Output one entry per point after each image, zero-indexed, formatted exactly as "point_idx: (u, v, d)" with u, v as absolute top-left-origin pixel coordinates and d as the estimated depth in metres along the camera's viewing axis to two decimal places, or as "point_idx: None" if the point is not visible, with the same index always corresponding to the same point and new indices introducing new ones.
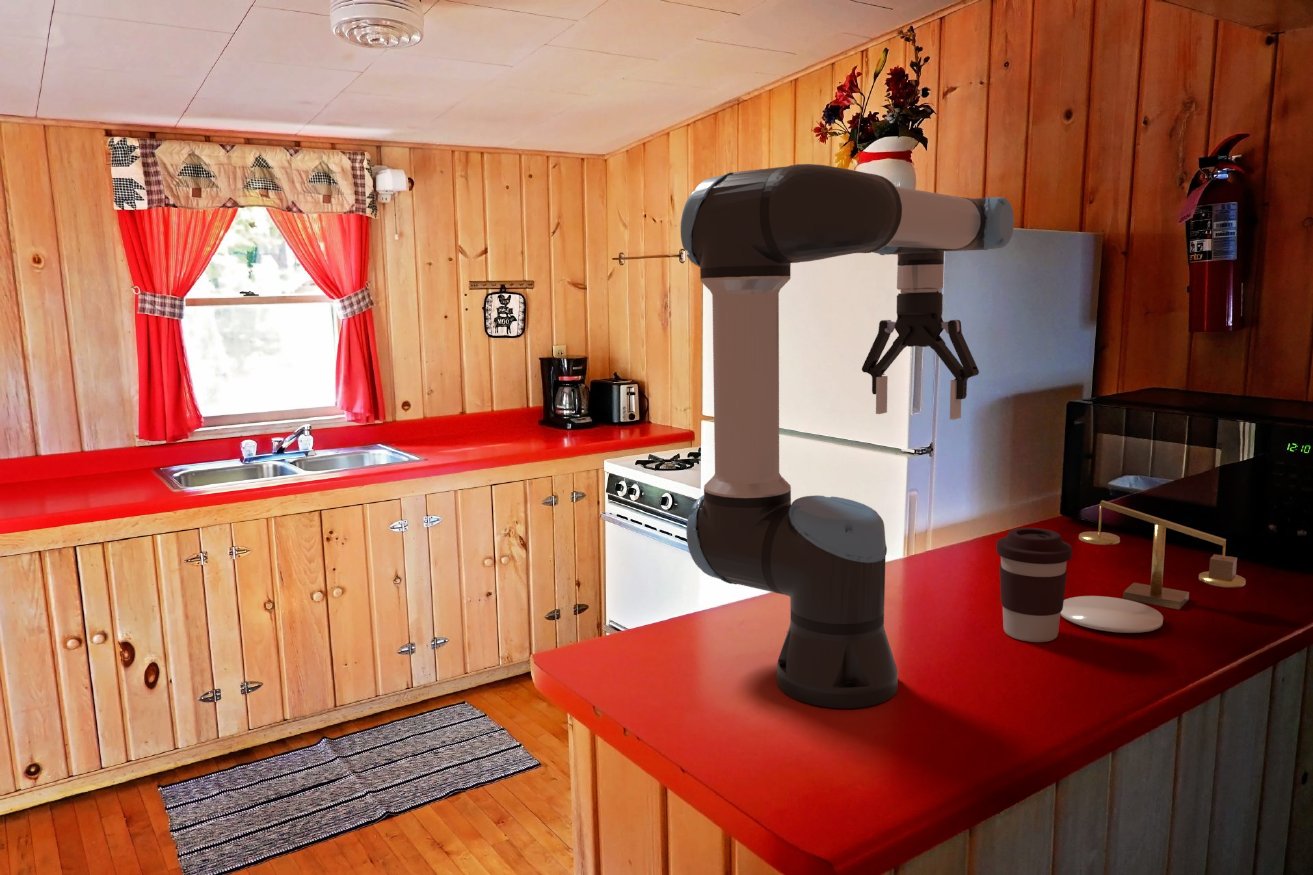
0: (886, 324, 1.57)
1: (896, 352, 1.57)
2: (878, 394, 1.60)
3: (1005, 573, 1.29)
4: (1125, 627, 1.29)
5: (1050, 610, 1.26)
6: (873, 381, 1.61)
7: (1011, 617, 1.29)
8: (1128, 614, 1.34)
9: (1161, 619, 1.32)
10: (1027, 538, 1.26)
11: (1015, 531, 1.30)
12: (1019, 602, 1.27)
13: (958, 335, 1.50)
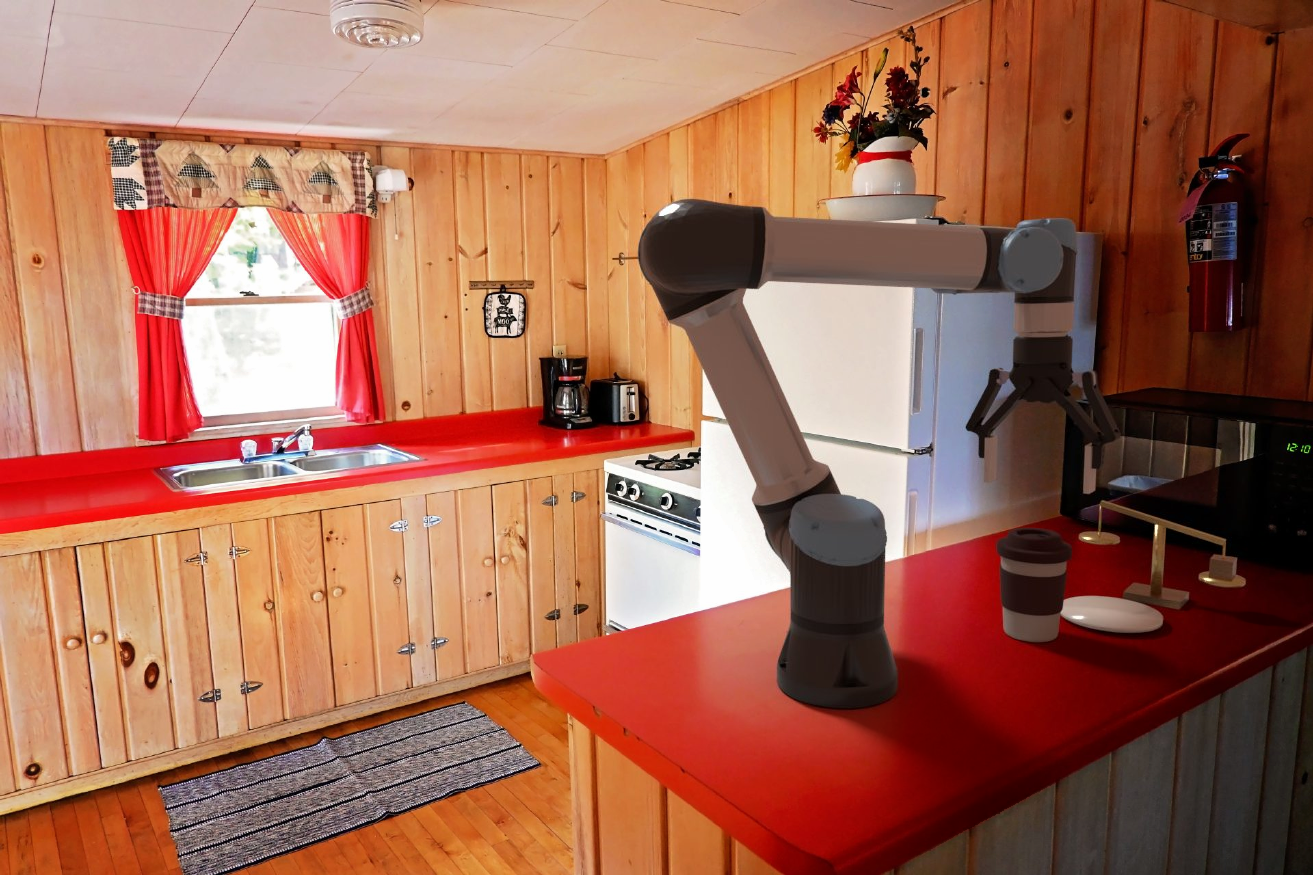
0: (998, 374, 1.28)
1: (1011, 408, 1.28)
2: (987, 458, 1.31)
3: (1005, 573, 1.29)
4: (1125, 627, 1.29)
5: (1050, 610, 1.26)
6: (980, 442, 1.32)
7: (1011, 617, 1.29)
8: (1128, 614, 1.34)
9: (1161, 619, 1.32)
10: (1027, 538, 1.26)
11: (1015, 531, 1.30)
12: (1019, 602, 1.27)
13: (1095, 390, 1.21)
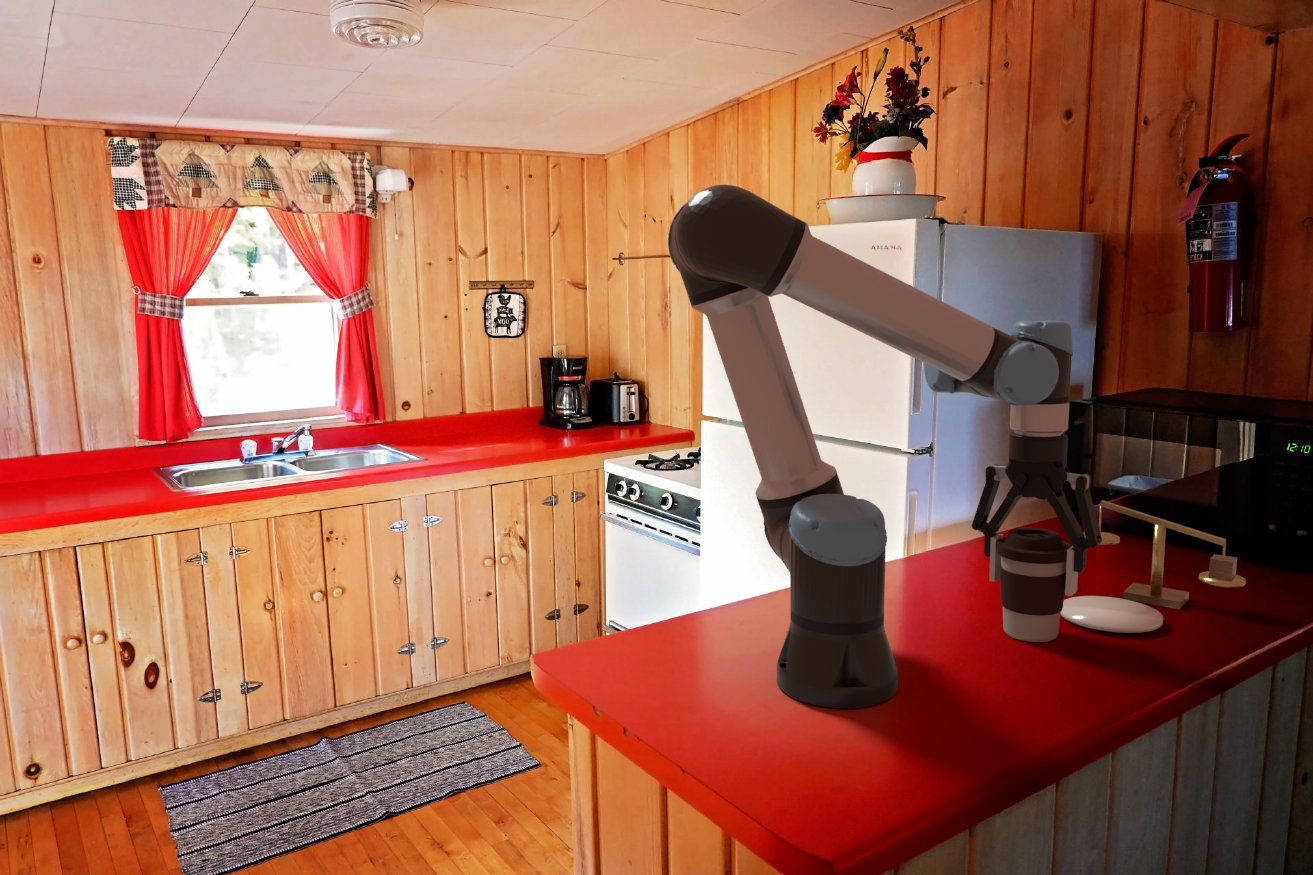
0: (994, 470, 1.31)
1: (1012, 505, 1.30)
2: (993, 558, 1.32)
3: (1005, 573, 1.29)
4: (1125, 627, 1.29)
5: (1050, 610, 1.26)
6: (986, 541, 1.33)
7: (1011, 617, 1.29)
8: (1128, 614, 1.34)
9: (1161, 619, 1.32)
10: (1027, 538, 1.26)
11: (1015, 531, 1.30)
12: (1019, 602, 1.27)
13: (1086, 495, 1.23)
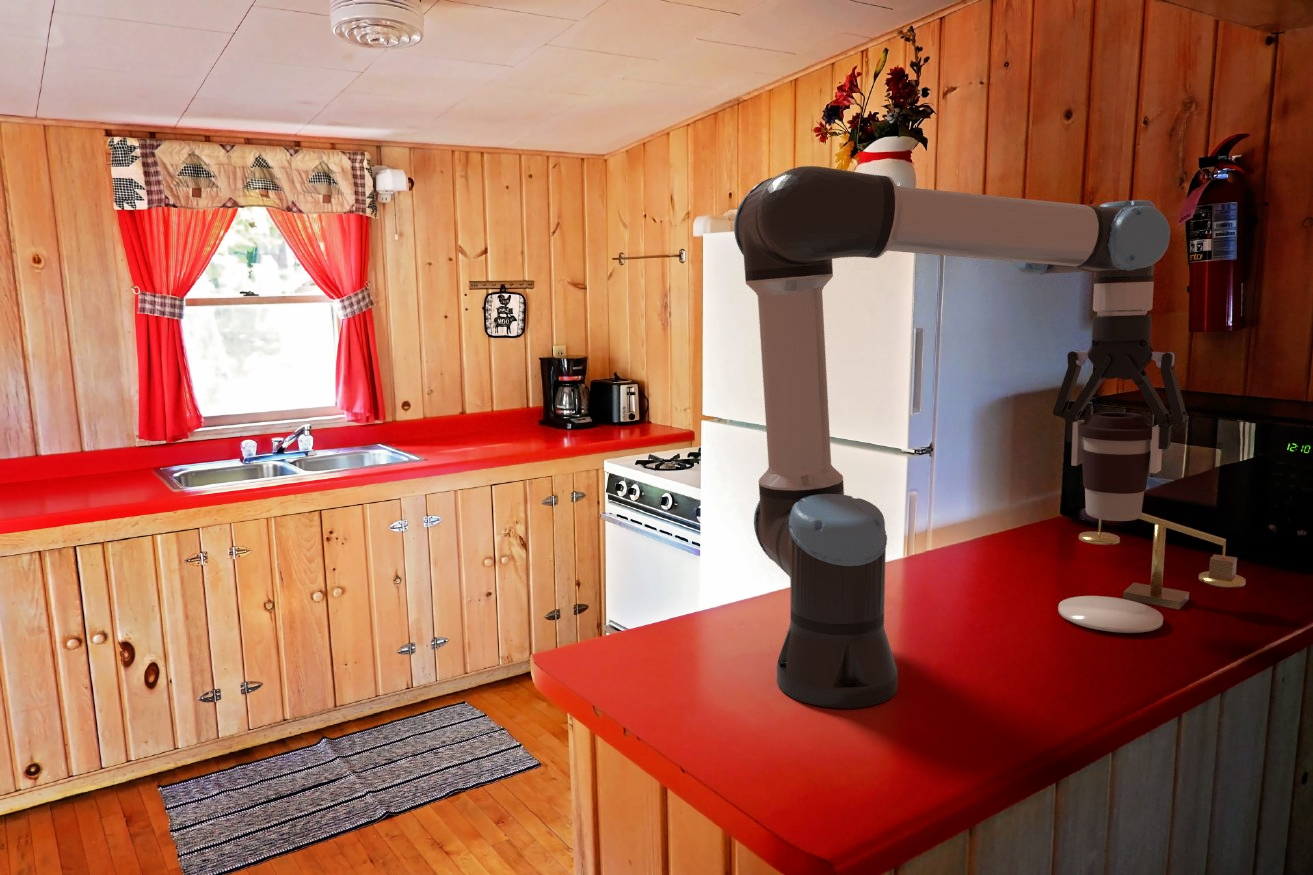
0: (1076, 355, 1.33)
1: (1094, 388, 1.32)
2: (1075, 442, 1.34)
3: (1089, 454, 1.31)
4: (1125, 627, 1.29)
5: (1135, 488, 1.29)
6: (1067, 426, 1.35)
7: (1095, 498, 1.31)
8: (1128, 614, 1.34)
9: (1161, 619, 1.32)
10: (1112, 417, 1.29)
11: (1098, 414, 1.32)
12: (1104, 481, 1.29)
13: (1172, 371, 1.25)
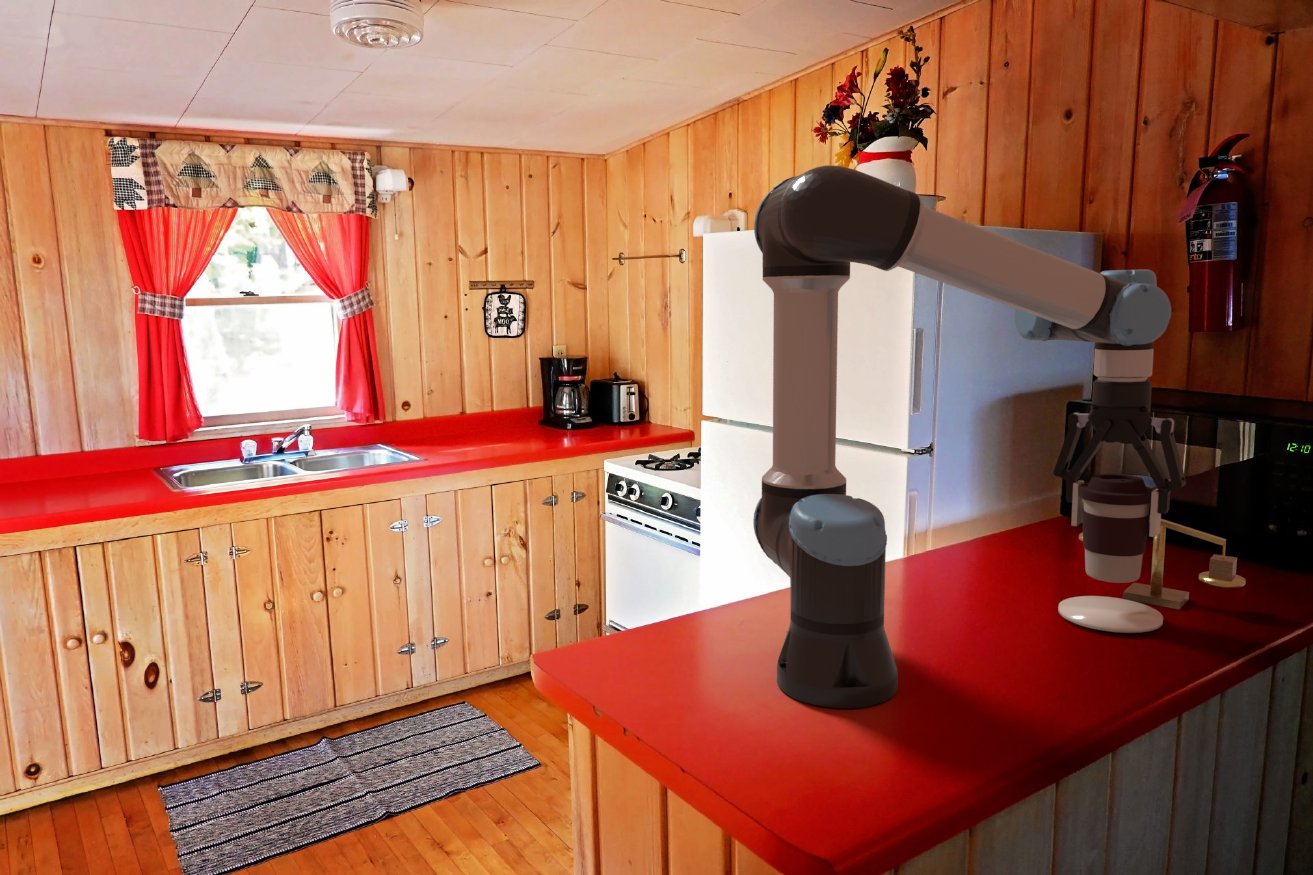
0: (1077, 418, 1.34)
1: (1095, 451, 1.34)
2: (1075, 503, 1.36)
3: (1089, 516, 1.33)
4: (1125, 627, 1.29)
5: (1135, 551, 1.30)
6: (1068, 487, 1.37)
7: (1095, 559, 1.33)
8: (1128, 614, 1.34)
9: (1161, 619, 1.32)
10: (1112, 481, 1.30)
11: (1098, 476, 1.34)
12: (1104, 543, 1.31)
13: (1171, 438, 1.27)
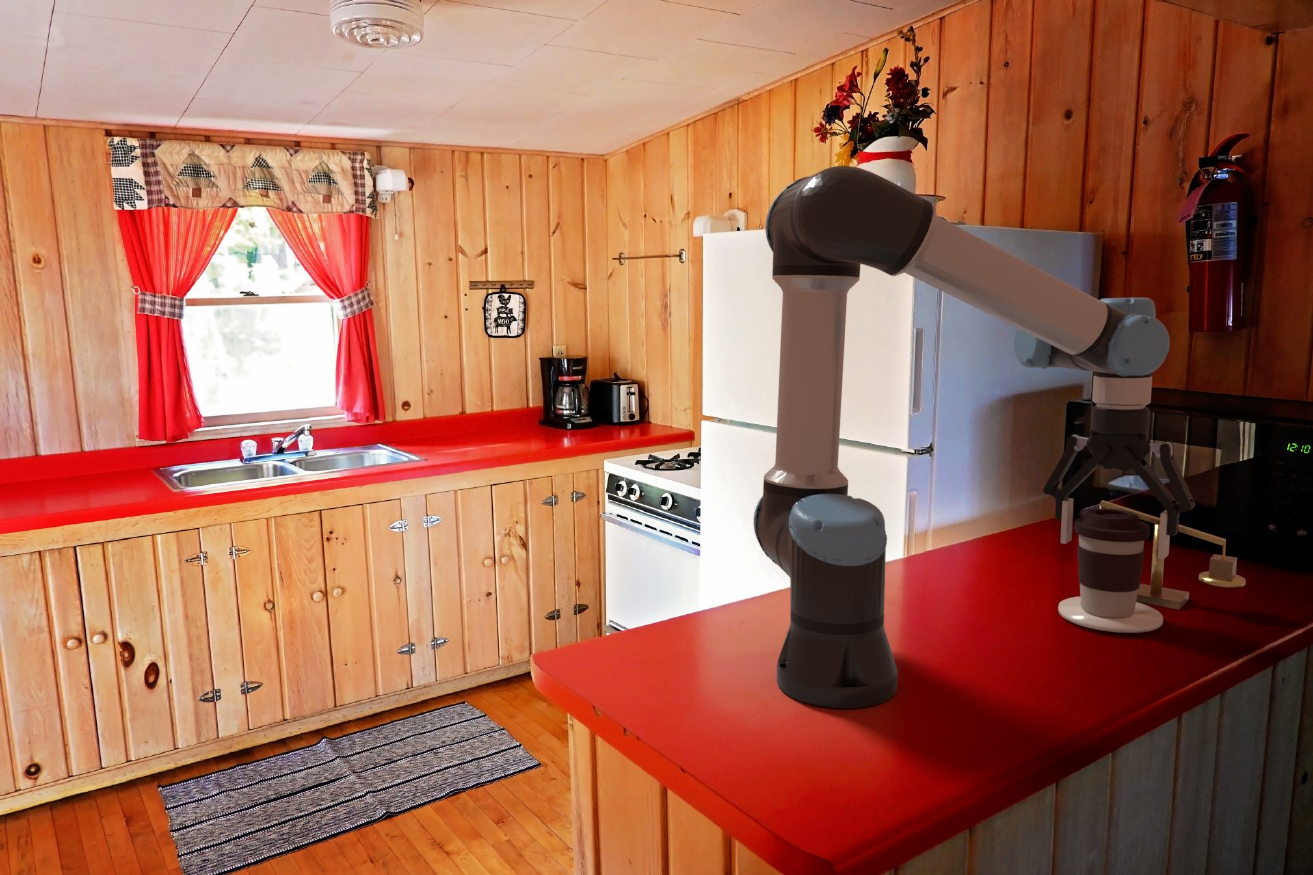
0: (1076, 441, 1.35)
1: (1088, 474, 1.35)
2: (1064, 521, 1.37)
3: (1084, 551, 1.33)
4: (1125, 627, 1.29)
5: (1129, 587, 1.31)
6: (1057, 505, 1.38)
7: (1090, 594, 1.34)
8: None
9: (1161, 619, 1.32)
10: (1107, 517, 1.31)
11: (1093, 511, 1.35)
12: (1098, 579, 1.32)
13: (1172, 461, 1.27)
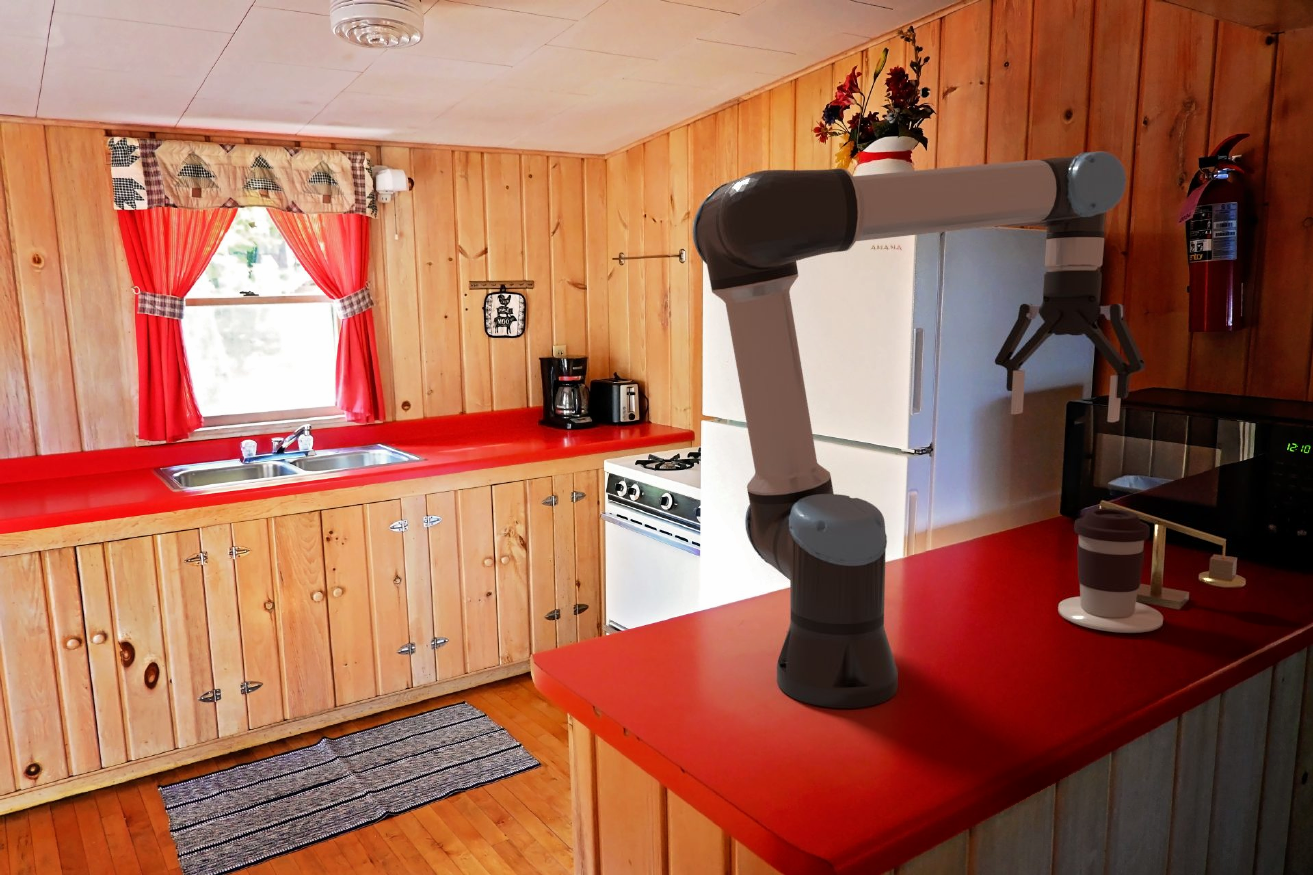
0: (1028, 308, 1.34)
1: (1039, 342, 1.33)
2: (1015, 391, 1.36)
3: (1084, 552, 1.33)
4: (1125, 627, 1.29)
5: (1129, 587, 1.31)
6: (1008, 375, 1.37)
7: (1090, 594, 1.34)
8: None
9: (1161, 619, 1.32)
10: (1106, 517, 1.31)
11: (1093, 511, 1.35)
12: (1098, 579, 1.32)
13: (1122, 322, 1.26)
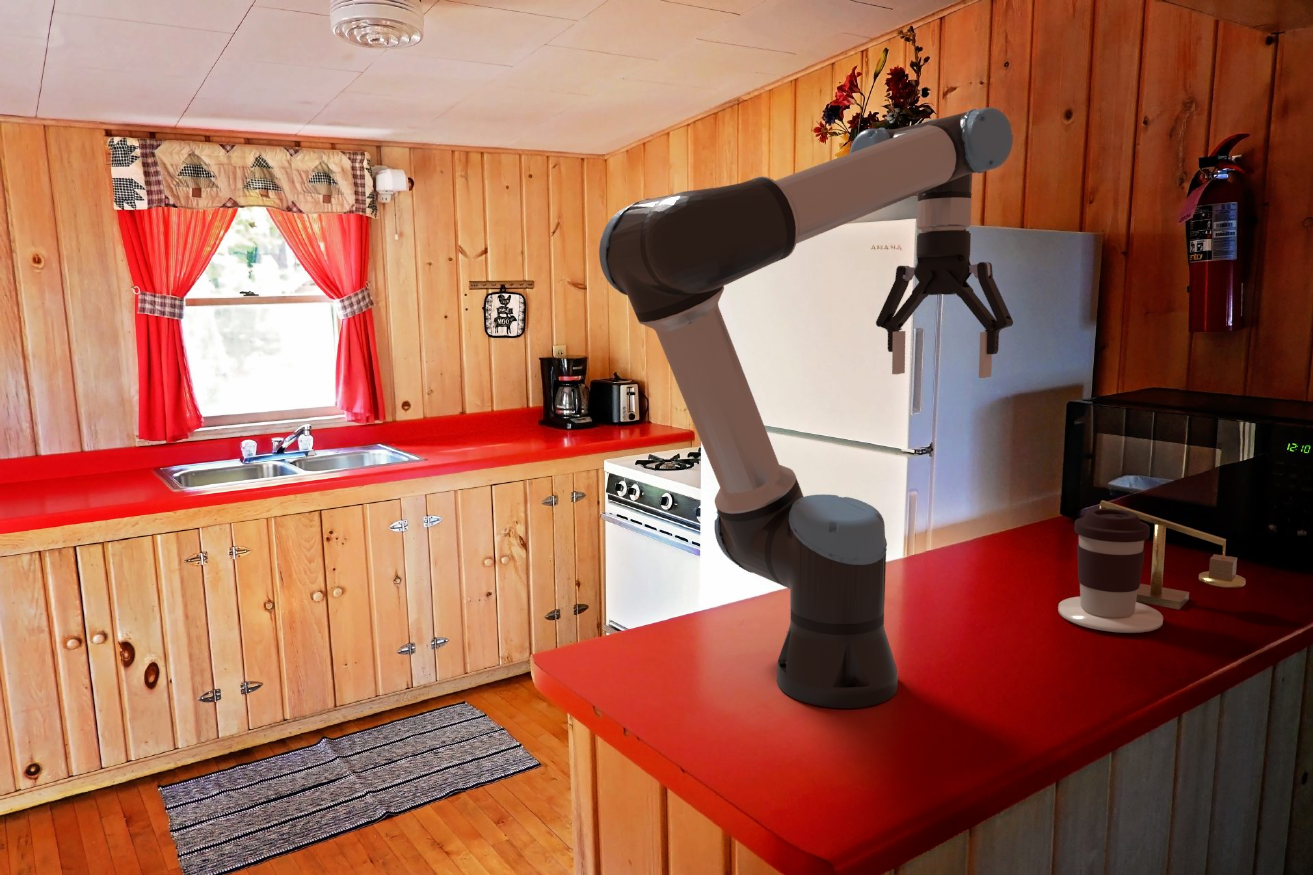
0: (904, 270, 1.37)
1: (916, 302, 1.37)
2: (895, 351, 1.39)
3: (1084, 552, 1.33)
4: (1125, 627, 1.29)
5: (1129, 587, 1.31)
6: (889, 337, 1.40)
7: (1090, 594, 1.34)
8: None
9: (1161, 619, 1.32)
10: (1107, 518, 1.31)
11: (1093, 511, 1.35)
12: (1098, 579, 1.32)
13: (989, 279, 1.29)
